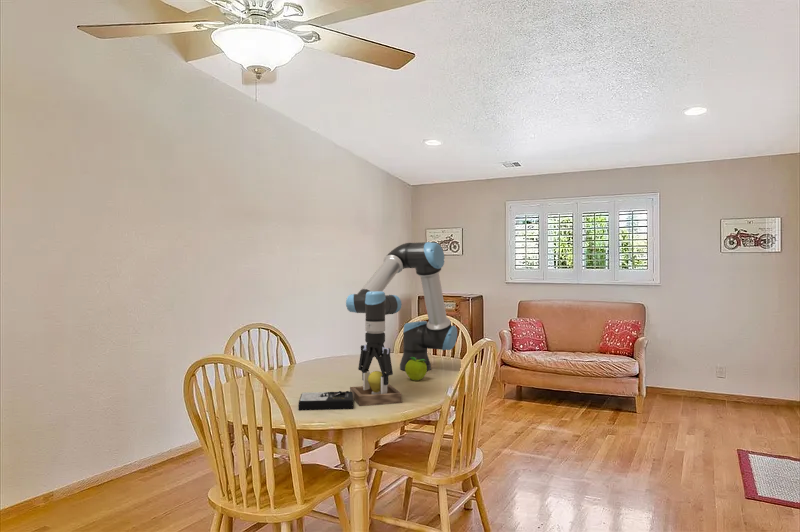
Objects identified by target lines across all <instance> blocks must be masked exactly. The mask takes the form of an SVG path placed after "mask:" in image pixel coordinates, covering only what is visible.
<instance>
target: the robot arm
mask: <svg viewBox="0 0 800 532" xmlns="http://www.w3.org/2000/svg"><path fill="white" fill-rule="evenodd" d="M444 265H445V253H444V250H443V248H442V246H441V245H440V244H439V243H437V242H430V241H425V242H405V243H402V244H399V245H398V246H396V247H395V248H393V249H392V250H391V251H389V253H388V254H386V255H385V257H384V258H383V263H382V264H381V265H380V266H379V267H378V269H377V270H376V271H375V272H374V274H373V275H371V277H370V278H369V280H367V282H366V283H364V285H363V287H362V288H360V290H359V291H358V292H357V293H352V294H351V293H350V294H349V295H348V296H347V298H346V301H345V306H346V309H347V311H348V312H349V313H355V314H365V320H364V321H365V329H364V330H365V331H366V332H365V333H364V334H365V335H364V337H365V339H364V340H365V343H366V344H364V345H360V355H359V362H358V367H357V369H358V371H361V374H362V375H361V376H362V384H363V385H362V386H363V390H368V389H370V385H369V382H368V377H369V375H370V374H371V372H370V367H371V364H372V362H373V358H375V359H376V361H377V362H378V366H379V369H380V372H382V376H381V394H386V393H387V385H388V384H389V376H393V375H394V373H393V366H392V359H391V348H390V347H388V348H387V347H385V346H384V345H385V342H386V333H385V332H386V316H388V315H393V314H397V313H398V312H400V311H401V309H402V300H401V298H400V297H399V296H398V295H395V294H388V295H386V293H385V291H384V290H385V289H386V287H388V285H389V284H390V282H391V281H392V280H393V279H394V277H395V276H396V275H397V274H398V273H401V272H402V271H403V270H404V269H415V273H416V275H417V276H418V277H420V283H421V288H422V292H423V296H424V298H423V299H424V303H425V308H426V312H427V317H428V321H427V320H419V321H412V322H406V323H404V325H403V331H402V333H403V337H402V338H403V352H402V356H401V360H400V362H399V369H400V370H402V371H404V372H406V371H405V366H406V364H407V362H408V361H409V360H411V359H412V358H409V357H415V358H416V359H417V360H420V359H424V360H423V361H424V362H425V363H426V366H427V371H430V370H431V369H432V367H431V366H432V365H431V360H430V357H429V356H428V349H432V350H442V351H451V350H452V349H454V347H455V345H456V342H457V338H458V328H457V326H456V325H452V321H451V319H450V318H448V316H447V312H446V305H445V301H444V296H443V289H442V284H441V279H440V273H441V271H442V268H443V267H444ZM425 360H426V361H425Z"/></svg>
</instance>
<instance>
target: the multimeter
mask: <svg viewBox="0 0 800 532" xmlns="http://www.w3.org/2000/svg"><path fill="white" fill-rule="evenodd" d="M297 407H298V408H297V409H298V411H323V410H324V411H327V410H328V411H329V410H330V411H333V410H354V400H353V393H352V392H350V390H346V391H342V390H339V391H319V392H318V391H317V392H316V391H315V392H313V391H311V392H310V391H307V392H302V393H301V394H300V396H299V400H298V406H297Z"/></svg>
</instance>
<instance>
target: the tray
mask: <svg viewBox="0 0 800 532" xmlns="http://www.w3.org/2000/svg"><path fill="white" fill-rule="evenodd" d="M372 391H373V390H372V389H371V387H370V389H368V390H363V385H362V386H358V385H357V386H349V392H352V393H353V402H355V403H356V404H357V405H358V406H359V407H364V406H374V405H375V406H376V405H377V406H379V405H389V404H390V405H391V404H401V403H402V402H403V401H402V400H403V399H402V396H403V395H402V393H401V392H400V391H399V390H397V389H396V388H395V387H394V386H393V385H391V384H389V383H388V385H387V393H386V394H381V390H380V391H379V392H380V394H375V395H372Z"/></svg>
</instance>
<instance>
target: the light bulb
mask: <svg viewBox="0 0 800 532" xmlns="http://www.w3.org/2000/svg"><path fill="white" fill-rule="evenodd" d="M381 376H382V372H381V370H380V371H379V370H374V371H372V372H370V375H369V377H368V382H369V385H370V387H371V389H372V390H373V391H372V395H375V394H380V392H379V391H380V390H381Z"/></svg>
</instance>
